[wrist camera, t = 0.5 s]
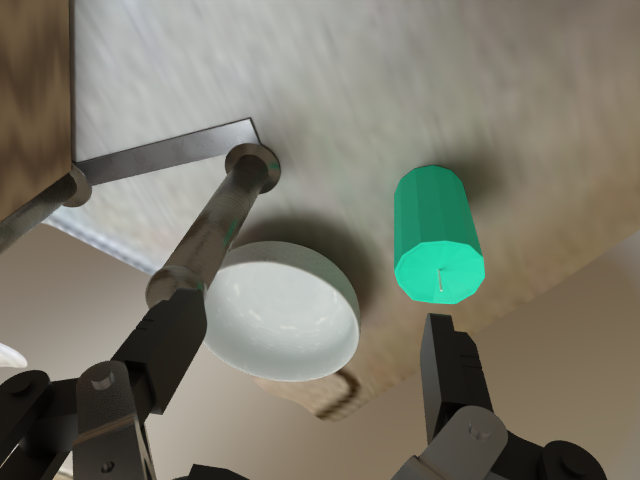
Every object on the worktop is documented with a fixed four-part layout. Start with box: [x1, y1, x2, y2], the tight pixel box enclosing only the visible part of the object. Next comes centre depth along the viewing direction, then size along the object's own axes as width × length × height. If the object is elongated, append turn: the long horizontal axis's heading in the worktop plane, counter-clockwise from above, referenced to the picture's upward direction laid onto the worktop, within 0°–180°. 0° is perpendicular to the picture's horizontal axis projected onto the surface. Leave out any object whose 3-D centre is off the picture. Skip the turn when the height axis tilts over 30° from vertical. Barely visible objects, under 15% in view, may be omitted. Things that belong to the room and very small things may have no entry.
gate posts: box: [0, 118, 280, 309], centre depth 31 cm, size 7×26×18 cm, turn 102°
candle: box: [394, 165, 485, 304], centre depth 31 cm, size 6×6×12 cm
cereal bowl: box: [203, 241, 361, 382], centre depth 42 cm, size 17×17×7 cm
